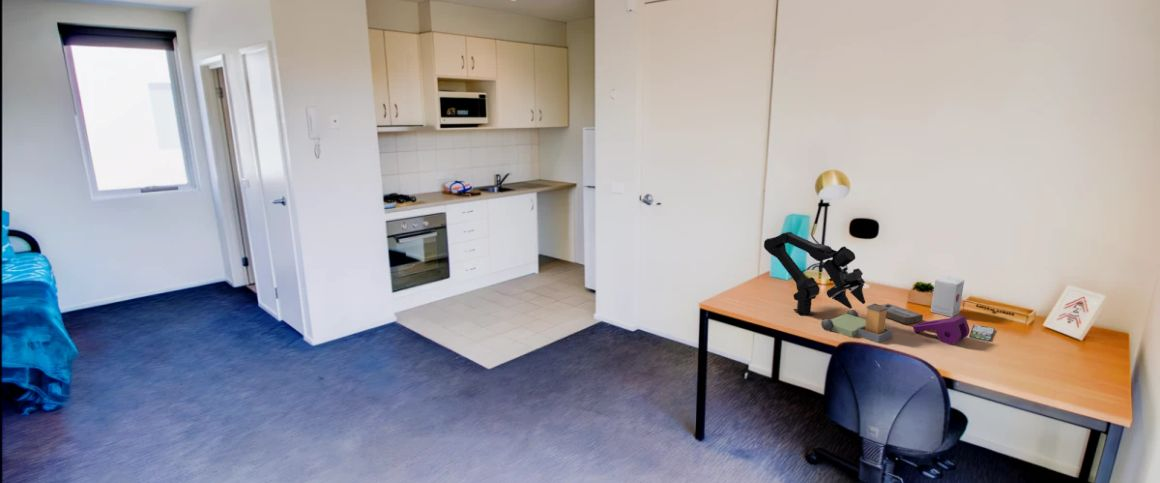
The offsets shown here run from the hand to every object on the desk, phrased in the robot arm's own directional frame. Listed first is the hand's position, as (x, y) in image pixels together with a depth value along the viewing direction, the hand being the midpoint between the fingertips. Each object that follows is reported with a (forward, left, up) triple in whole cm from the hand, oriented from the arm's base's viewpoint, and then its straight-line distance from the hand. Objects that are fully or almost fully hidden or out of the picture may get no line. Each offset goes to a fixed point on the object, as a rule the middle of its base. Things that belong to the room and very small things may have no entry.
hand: (857, 305), depth 246 cm
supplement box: (-15, +49, -11) cm, 52 cm away
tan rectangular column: (+7, +4, -10) cm, 13 cm away
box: (-12, +25, -11) cm, 30 cm away
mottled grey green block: (+8, +48, -11) cm, 50 cm away
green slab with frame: (+1, +1, -10) cm, 11 cm away
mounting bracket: (+9, +29, -11) cm, 32 cm away
